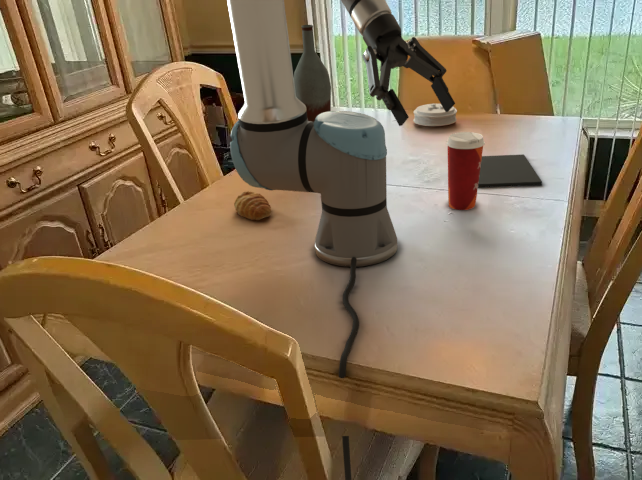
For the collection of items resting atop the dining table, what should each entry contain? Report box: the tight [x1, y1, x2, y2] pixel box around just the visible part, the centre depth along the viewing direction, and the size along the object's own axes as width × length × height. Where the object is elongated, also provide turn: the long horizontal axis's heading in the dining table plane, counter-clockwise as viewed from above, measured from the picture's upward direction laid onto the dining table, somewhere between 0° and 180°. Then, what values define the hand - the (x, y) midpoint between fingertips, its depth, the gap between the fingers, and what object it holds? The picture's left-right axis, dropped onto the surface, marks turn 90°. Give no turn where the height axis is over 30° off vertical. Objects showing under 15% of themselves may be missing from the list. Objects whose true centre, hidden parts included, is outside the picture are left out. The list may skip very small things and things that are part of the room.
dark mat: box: [478, 153, 543, 189], centre depth 145 cm, size 20×14×1 cm
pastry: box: [233, 190, 273, 221], centre depth 130 cm, size 9×7×4 cm
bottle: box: [293, 24, 332, 122], centre depth 153 cm, size 9×9×30 cm
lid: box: [413, 103, 458, 127], centre depth 180 cm, size 13×13×5 cm
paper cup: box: [445, 131, 486, 211], centre depth 126 cm, size 8×8×14 cm
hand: (428, 114), depth 126 cm, fingers open, 13 cm apart
